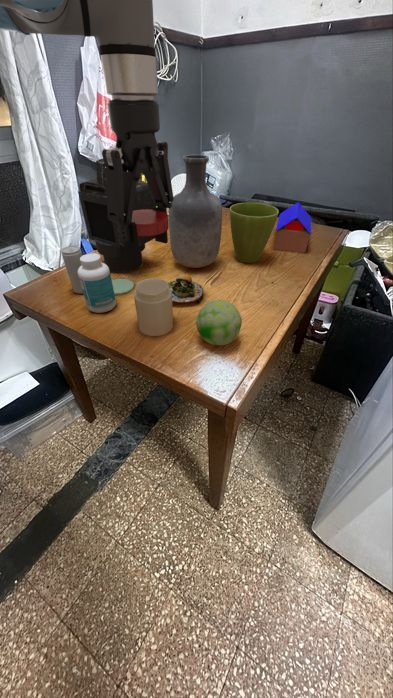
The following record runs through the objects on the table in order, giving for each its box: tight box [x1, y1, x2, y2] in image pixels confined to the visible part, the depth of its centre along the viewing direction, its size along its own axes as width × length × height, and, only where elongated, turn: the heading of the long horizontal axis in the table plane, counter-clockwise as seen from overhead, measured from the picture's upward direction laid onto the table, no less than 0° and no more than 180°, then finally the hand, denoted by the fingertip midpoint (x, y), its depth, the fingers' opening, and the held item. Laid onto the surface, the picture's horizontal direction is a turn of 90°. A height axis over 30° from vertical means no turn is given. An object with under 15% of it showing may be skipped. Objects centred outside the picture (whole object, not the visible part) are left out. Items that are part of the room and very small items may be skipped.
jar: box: [133, 277, 174, 337], centre depth 66 cm, size 8×8×11 cm
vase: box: [168, 153, 223, 269], centre depth 85 cm, size 16×16×30 cm
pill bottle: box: [78, 253, 117, 314], centre depth 71 cm, size 8×7×14 cm
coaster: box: [111, 278, 135, 296], centre depth 83 cm, size 8×8×1 cm
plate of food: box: [167, 270, 205, 304], centre depth 77 cm, size 12×12×8 cm
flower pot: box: [229, 202, 280, 264], centre depth 93 cm, size 15×15×16 cm
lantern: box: [77, 158, 157, 273], centre depth 84 cm, size 15×18×30 cm
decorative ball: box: [195, 299, 243, 346], centre depth 62 cm, size 10×10×10 cm
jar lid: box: [124, 209, 169, 236], centre depth 54 cm, size 9×9×2 cm
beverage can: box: [60, 245, 84, 295], centre depth 78 cm, size 5×5×12 cm
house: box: [273, 201, 312, 254], centre depth 107 cm, size 12×20×12 cm, turn 164°
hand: (148, 249), depth 57 cm, fingers closed on jar lid, 9 cm apart
